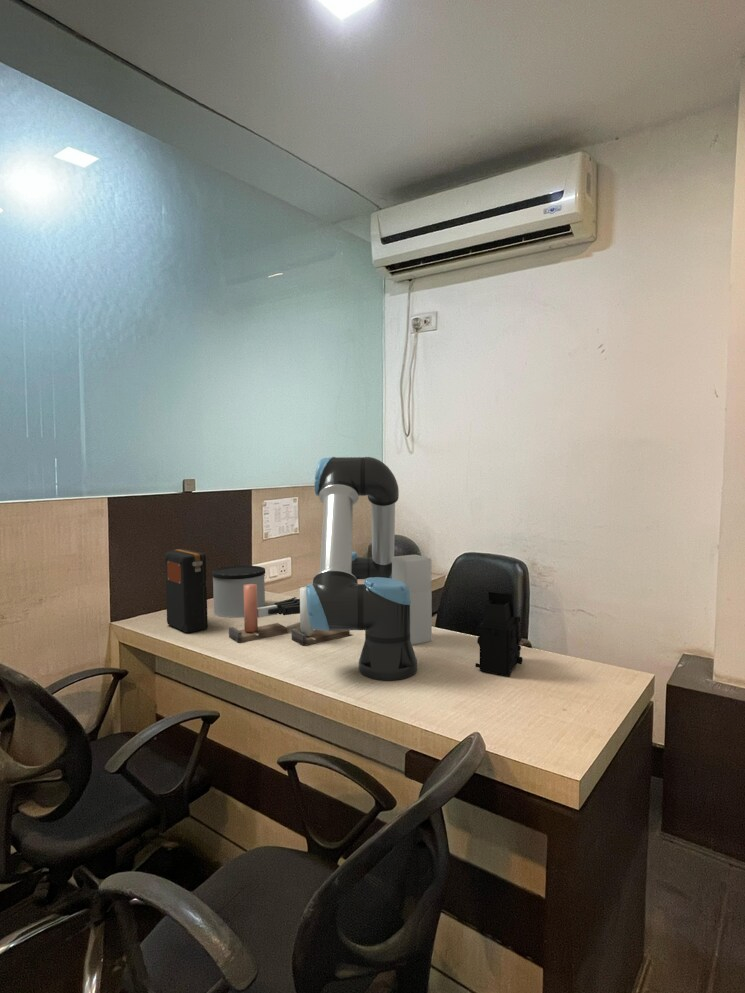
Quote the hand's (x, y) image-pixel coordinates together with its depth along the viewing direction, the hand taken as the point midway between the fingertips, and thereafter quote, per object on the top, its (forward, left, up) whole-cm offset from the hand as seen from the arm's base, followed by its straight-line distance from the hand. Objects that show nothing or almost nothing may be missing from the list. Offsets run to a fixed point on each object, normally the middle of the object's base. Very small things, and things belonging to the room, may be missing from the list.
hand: (257, 612), depth 172 cm
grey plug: (-3, -17, -5) cm, 18 cm away
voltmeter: (+5, +26, -7) cm, 27 cm away
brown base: (0, 0, -7) cm, 7 cm away
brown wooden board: (0, -20, -7) cm, 22 cm away
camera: (-17, -73, -7) cm, 75 cm away
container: (+27, +17, -7) cm, 32 cm away
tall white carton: (+2, -48, -7) cm, 49 cm away
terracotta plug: (-2, +1, -5) cm, 6 cm away
